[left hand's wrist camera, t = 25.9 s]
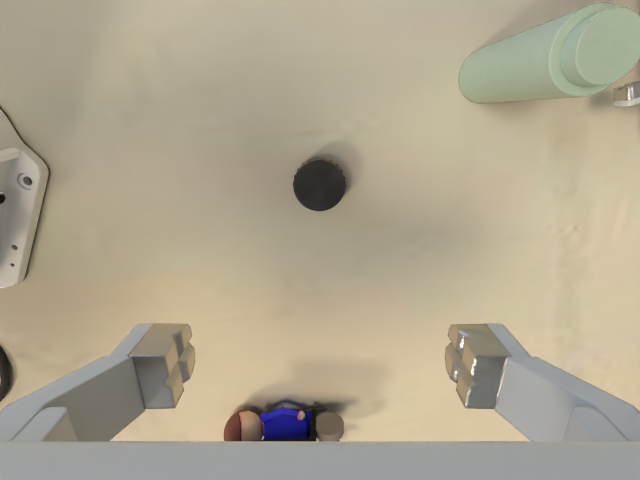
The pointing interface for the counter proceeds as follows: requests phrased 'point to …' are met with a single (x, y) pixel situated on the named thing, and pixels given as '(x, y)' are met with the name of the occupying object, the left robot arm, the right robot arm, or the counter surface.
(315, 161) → the lid
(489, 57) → the jar
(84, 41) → the counter surface
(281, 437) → the figurine character
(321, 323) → the counter surface
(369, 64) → the counter surface
